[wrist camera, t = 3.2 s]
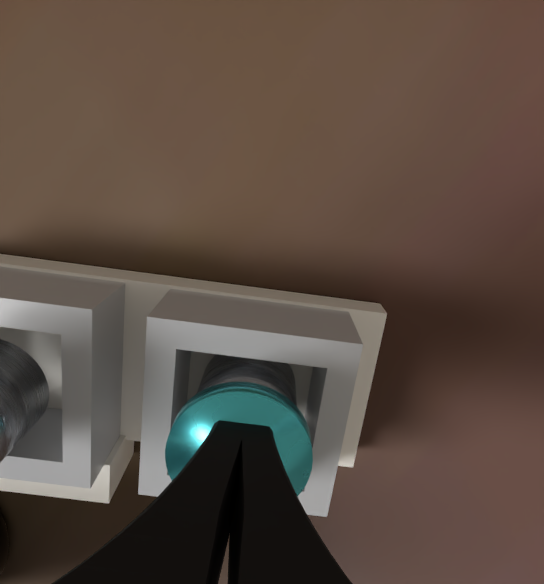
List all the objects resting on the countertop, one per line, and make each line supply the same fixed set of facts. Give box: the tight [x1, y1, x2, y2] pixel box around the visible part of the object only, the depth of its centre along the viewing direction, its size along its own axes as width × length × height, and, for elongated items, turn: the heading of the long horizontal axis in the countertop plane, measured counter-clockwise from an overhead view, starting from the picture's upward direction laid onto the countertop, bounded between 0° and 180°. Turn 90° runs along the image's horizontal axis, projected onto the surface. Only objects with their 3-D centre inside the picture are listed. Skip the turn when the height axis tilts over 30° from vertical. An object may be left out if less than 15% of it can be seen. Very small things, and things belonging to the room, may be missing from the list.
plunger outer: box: [165, 354, 313, 497], centre depth 12 cm, size 4×4×4 cm
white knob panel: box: [0, 254, 387, 517], centre depth 15 cm, size 18×21×4 cm
